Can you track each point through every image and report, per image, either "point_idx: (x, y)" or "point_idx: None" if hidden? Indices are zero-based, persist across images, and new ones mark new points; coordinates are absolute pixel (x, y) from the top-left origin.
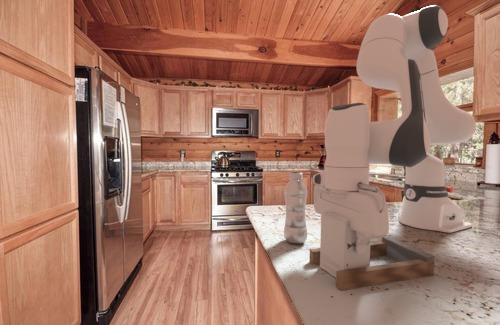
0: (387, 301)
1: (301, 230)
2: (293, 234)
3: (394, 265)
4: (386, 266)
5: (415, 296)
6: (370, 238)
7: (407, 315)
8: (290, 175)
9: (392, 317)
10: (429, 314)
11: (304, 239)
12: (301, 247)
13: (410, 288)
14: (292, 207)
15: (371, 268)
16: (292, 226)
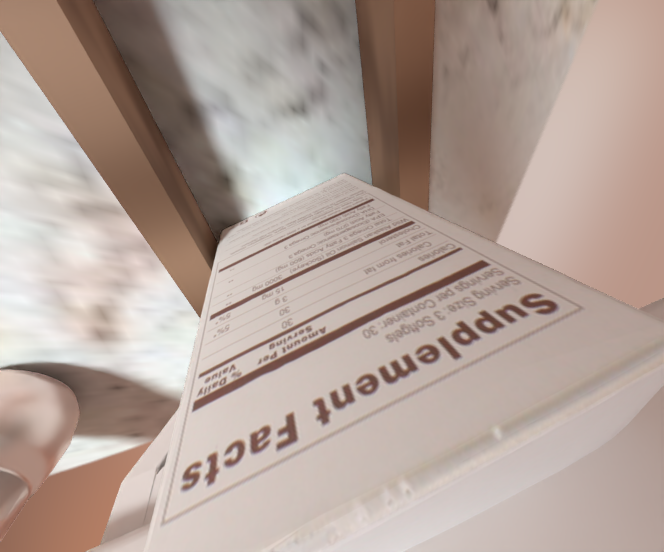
0: (464, 189)
1: (17, 452)
2: (62, 449)
3: (419, 56)
4: (416, 118)
5: (479, 69)
6: (444, 219)
7: (513, 170)
8: None
9: (502, 210)
10: (538, 102)
11: (36, 387)
12: (94, 368)
13: (442, 41)
14: None
15: (417, 205)
16: (22, 505)
